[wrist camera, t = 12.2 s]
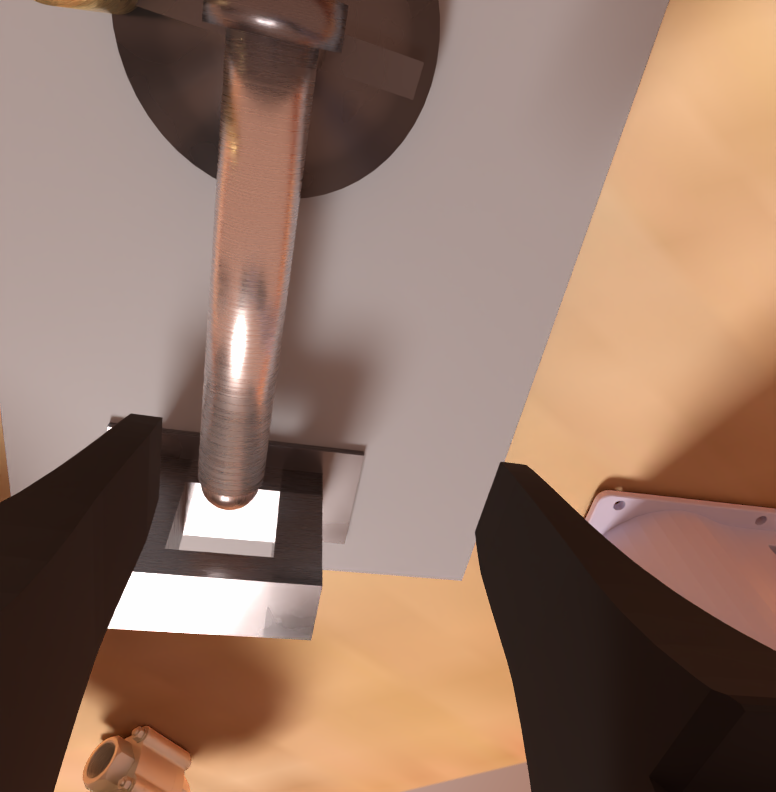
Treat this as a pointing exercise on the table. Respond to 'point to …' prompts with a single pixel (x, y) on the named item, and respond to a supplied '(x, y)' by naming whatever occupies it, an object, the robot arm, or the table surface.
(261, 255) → the headed rod
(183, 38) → the handwheel
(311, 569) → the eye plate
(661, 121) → the table surface
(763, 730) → the robot arm
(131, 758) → the pneumatic valve
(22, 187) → the board
